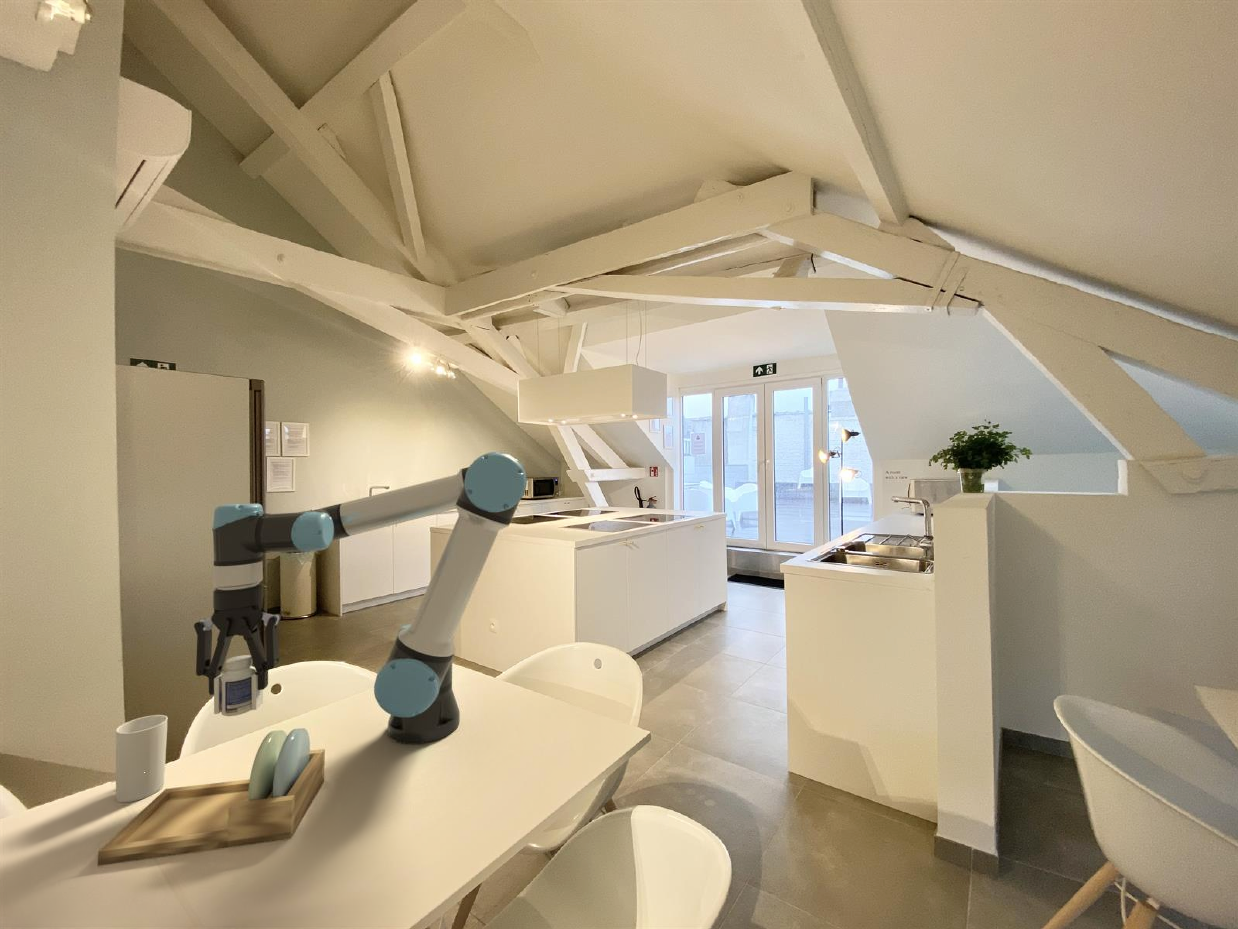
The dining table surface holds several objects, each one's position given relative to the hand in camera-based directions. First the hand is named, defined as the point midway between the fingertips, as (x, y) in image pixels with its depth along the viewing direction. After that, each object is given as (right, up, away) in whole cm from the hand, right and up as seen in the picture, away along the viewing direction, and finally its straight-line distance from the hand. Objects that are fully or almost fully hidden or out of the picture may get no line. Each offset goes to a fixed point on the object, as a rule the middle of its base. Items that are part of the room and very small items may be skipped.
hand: (239, 708), depth 95 cm
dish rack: (+7, -12, -12) cm, 19 cm away
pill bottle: (0, -1, 0) cm, 1 cm away
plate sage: (+13, -12, -11) cm, 21 cm away
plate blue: (+16, -13, -10) cm, 23 cm away
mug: (-14, -13, -4) cm, 19 cm away
